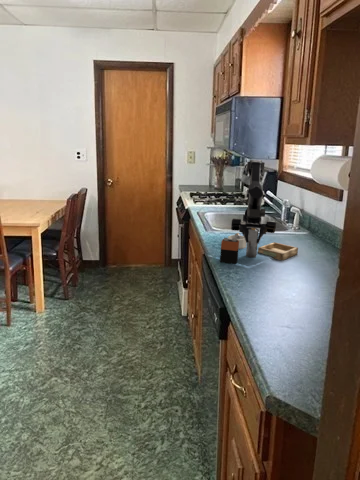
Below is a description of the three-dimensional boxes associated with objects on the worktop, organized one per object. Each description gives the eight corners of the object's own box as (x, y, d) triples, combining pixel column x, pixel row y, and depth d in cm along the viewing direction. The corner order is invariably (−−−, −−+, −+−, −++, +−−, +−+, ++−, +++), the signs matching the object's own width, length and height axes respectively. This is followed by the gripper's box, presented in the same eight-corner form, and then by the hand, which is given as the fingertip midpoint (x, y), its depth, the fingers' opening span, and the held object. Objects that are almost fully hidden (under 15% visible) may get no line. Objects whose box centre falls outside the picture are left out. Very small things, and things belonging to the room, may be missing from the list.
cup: (234, 244, 194) (235, 234, 193) (248, 248, 189) (249, 237, 188) (224, 247, 188) (225, 237, 187) (238, 251, 183) (239, 240, 182)
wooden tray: (273, 248, 190) (274, 242, 189) (297, 254, 182) (298, 247, 182) (257, 254, 180) (258, 247, 179) (281, 260, 172) (282, 253, 171)
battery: (236, 264, 165) (238, 240, 162) (219, 262, 166) (221, 238, 164) (237, 261, 169) (239, 238, 166) (221, 259, 170) (222, 236, 168)
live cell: (249, 255, 177) (251, 226, 174) (258, 257, 175) (260, 228, 171) (243, 257, 174) (246, 228, 171) (252, 260, 171) (255, 230, 168)
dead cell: (236, 244, 190) (237, 232, 189) (241, 246, 188) (242, 233, 187) (232, 245, 188) (233, 233, 187) (237, 247, 186) (238, 234, 185)
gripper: (233, 199, 173) (230, 231, 166) (278, 202, 171) (277, 234, 163) (232, 214, 183) (229, 244, 175) (274, 217, 180) (274, 248, 173)
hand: (252, 242), depth 171 cm, fingers closed on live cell, 4 cm apart
